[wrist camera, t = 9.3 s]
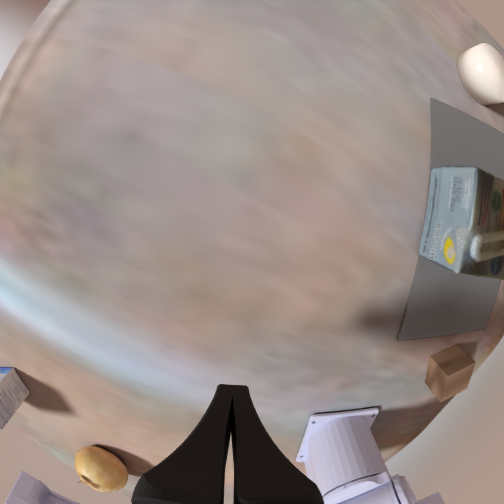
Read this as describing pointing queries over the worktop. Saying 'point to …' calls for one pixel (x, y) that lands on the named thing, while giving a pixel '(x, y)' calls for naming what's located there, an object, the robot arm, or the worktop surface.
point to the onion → (100, 469)
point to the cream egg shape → (482, 73)
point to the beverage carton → (465, 222)
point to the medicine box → (10, 394)
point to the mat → (433, 275)
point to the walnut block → (449, 372)
